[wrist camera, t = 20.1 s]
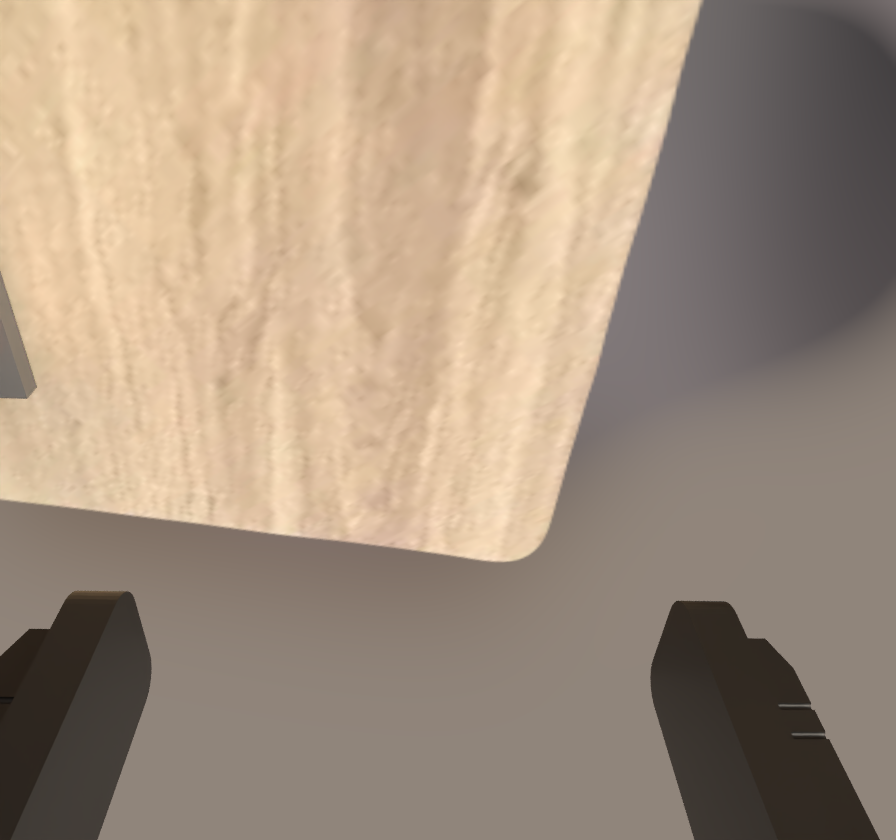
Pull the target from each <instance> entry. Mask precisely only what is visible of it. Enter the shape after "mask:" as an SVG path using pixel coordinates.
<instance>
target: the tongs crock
mask: <svg viewBox="0 0 896 840" xmlns="http://www.w3.org/2000/svg"><path fill="white" fill-rule="evenodd" d="M36 388H37V386H36V383H35V380H34V377H33V373H32V370H31V367H30V364H29V361H28V358H27V354H26V351H25V348H24V345H23V342H22V339H21V335H20V332H19V329H18V326H17V323H16V320H15V316H14V313H13V310H12V307H11V304H10V301H9V298H8V294H7V291H6V288H5V285H4V282H3V279H2V275H1V272H0V398H21V399H27V398H28V397H29V396H30V395H31V394H32V392H33V391H34V390H35V389H36Z"/></svg>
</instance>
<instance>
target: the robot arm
mask: <svg viewBox="0 0 896 840" xmlns="http://www.w3.org/2000/svg"><path fill="white" fill-rule="evenodd" d="M150 680H151V657H150V653H149V649H148V645H147V642H146V638H145V635H144V631H143V628H142V624H141V620H140V617H139V613H138V610H137V606H136V603H135V599H134V597H133V595H132V594H131V593H130V592H127V591H74V592H72V593H71V594H70V595H69V596H68V597H67V599H66V600H65V602H64V604H63V605H62V607H61V609H60V611H59V613H58V615H57V617H56V619H55V621H54V622H53V624H52V627H51V628H50V629H29V630H28V631H27V632H26V633H25V634H24V635H23V636H21V638H19V639H18V640H17V641H16V642H15V643H14V644H13V645H12V646H11V647H10V648H9V649H8V650H6V651H5V652H4V653H3V654H2V655H1V656H0V840H97V839H98V836H99V833H100V830H101V828H102V825H103V822H104V819H105V816H106V813H107V810H108V808H109V805H110V802H111V799H112V797H113V794H114V791H115V788H116V785H117V782H118V779H119V777H120V774H121V771H122V768H123V765H124V762H125V760H126V757H127V754H128V751H129V748H130V745H131V742H132V739H133V737H134V734H135V731H136V728H137V725H138V722H139V720H140V717H141V714H142V711H143V708H144V705H145V703H146V699H147V696H148V692H149V687H150ZM651 692H652V698H653V703H654V707H655V710H656V713H657V717H658V719H659V723H660V727H661V730H662V733H663V737H664V740H665V743H666V746H667V750H668V753H669V756H670V760H671V763H672V766H673V770H674V773H675V776H676V780H677V783H678V786H679V790H680V793H681V796H682V799H683V803H684V806H685V810H686V813H687V816H688V820H689V823H690V826H691V830H692V833H693V836H694V839H695V840H880V839H879V837H878V835H877V833H876V832H875V829H874V828H873V825H872V824H871V821H870V819H869V817H868V816H867V814H866V812H865V810H864V808H863V806H862V804H861V802H860V800H859V798H858V796H857V794H856V792H855V790H854V788H853V786H852V784H851V782H850V780H849V778H848V776H847V774H846V772H845V770H844V768H843V766H842V764H841V762H840V760H839V758H838V756H837V754H836V752H835V750H834V748H833V746H832V744H831V742H830V740H829V739H826V737H825V730H824V728H823V726H822V724H821V722H820V720H819V718H818V716H817V714H816V712H815V710H812V709H811V702H810V700H809V698H808V696H807V694H806V692H805V691H804V688H803V686H802V685H801V682H800V680H799V678H798V676H797V674H796V673H795V670H794V669H793V667H792V666H791V665H790V664H789V663H788V662H787V661H786V660H785V659H784V658H783V657H782V656H781V655H780V654H779V653H778V652H777V651H776V650H775V649H774V648H773V647H772V645H771V644H770V643H769V642H768V641H767V640H766V639H749V638H747V636H746V634H745V632H744V629H743V627H742V625H741V623H740V621H739V618H738V616H737V614H736V612H735V610H734V609H733V607H732V606H731V605H730V604H729V603H727V602H724V601H723V602H722V601H676V602H675V603H674V604H673V605H672V607H671V610H670V613H669V615H668V618H667V621H666V624H665V627H664V630H663V633H662V636H661V638H660V642H659V644H658V647H657V650H656V653H655V656H654V659H653V662H652V667H651Z"/></svg>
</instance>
